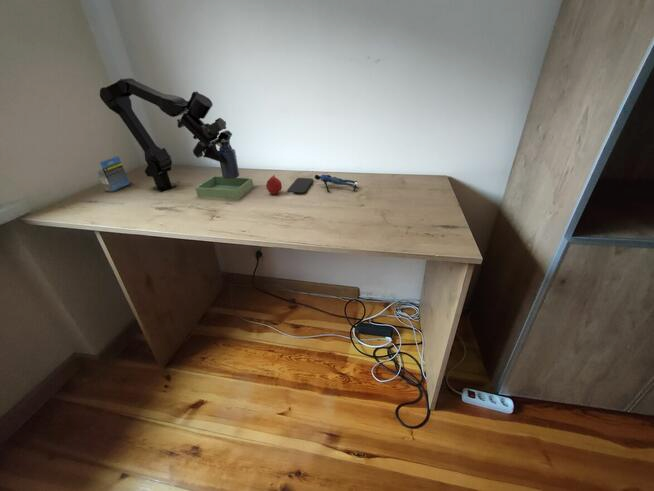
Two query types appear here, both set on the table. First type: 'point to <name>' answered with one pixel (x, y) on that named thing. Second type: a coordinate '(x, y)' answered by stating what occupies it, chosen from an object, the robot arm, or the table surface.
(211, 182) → the bin
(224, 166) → the bottle
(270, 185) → the onion
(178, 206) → the table surface
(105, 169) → the tape cartridge
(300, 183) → the phone
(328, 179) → the person figurine
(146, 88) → the robot arm
